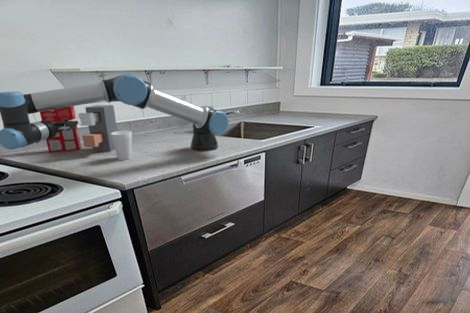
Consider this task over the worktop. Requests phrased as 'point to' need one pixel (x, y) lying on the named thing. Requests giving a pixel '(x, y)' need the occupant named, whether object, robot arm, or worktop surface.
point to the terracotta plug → (92, 139)
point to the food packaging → (63, 138)
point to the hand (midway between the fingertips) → (79, 121)
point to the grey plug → (89, 118)
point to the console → (104, 126)
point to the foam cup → (122, 144)
